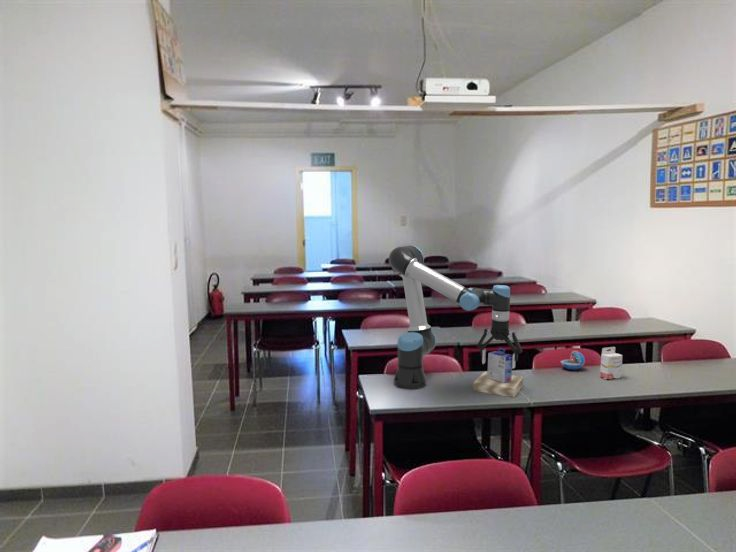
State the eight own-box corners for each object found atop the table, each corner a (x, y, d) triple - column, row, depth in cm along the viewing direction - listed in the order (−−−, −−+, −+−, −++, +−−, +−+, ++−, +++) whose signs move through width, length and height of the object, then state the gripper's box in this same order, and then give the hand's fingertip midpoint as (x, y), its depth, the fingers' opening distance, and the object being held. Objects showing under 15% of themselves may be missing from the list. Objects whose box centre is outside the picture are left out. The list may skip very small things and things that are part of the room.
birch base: (473, 390, 220) (473, 382, 220) (484, 379, 236) (484, 371, 235) (514, 397, 211) (514, 388, 211) (523, 385, 227) (523, 377, 227)
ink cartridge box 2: (607, 380, 233) (609, 350, 232) (599, 377, 238) (601, 347, 236) (621, 378, 236) (623, 348, 234) (613, 375, 241) (615, 346, 239)
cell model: (556, 366, 255) (557, 349, 254) (578, 366, 256) (579, 348, 255) (566, 372, 245) (566, 354, 244) (588, 371, 247) (589, 353, 246)
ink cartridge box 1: (512, 381, 221) (513, 349, 219) (504, 383, 217) (505, 352, 216) (494, 375, 228) (495, 345, 227) (486, 378, 225) (487, 347, 223)
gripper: (470, 318, 223) (469, 363, 225) (527, 324, 211) (524, 372, 213) (475, 315, 229) (474, 359, 232) (530, 321, 217) (528, 367, 220)
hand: (498, 365), depth 223 cm, fingers open, 13 cm apart
